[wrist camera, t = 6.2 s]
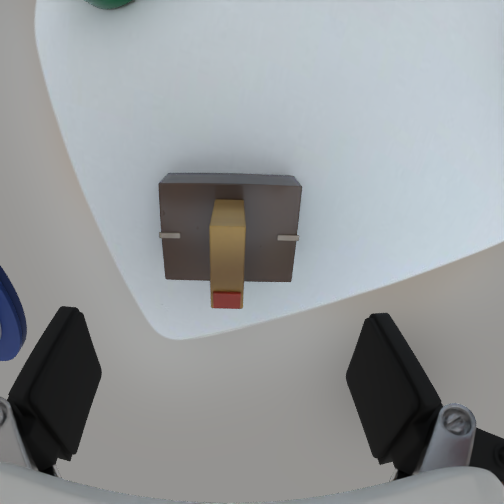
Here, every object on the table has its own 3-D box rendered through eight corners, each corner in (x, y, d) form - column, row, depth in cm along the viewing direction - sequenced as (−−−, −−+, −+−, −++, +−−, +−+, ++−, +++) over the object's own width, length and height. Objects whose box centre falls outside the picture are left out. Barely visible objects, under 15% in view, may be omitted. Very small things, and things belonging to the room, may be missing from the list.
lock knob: (215, 198, 19) (208, 227, 15) (244, 199, 19) (246, 228, 15) (215, 269, 22) (210, 311, 17) (241, 269, 22) (242, 311, 17)
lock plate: (171, 259, 24) (163, 280, 22) (166, 173, 21) (156, 184, 19) (286, 262, 25) (293, 283, 22) (295, 175, 22) (304, 187, 19)
